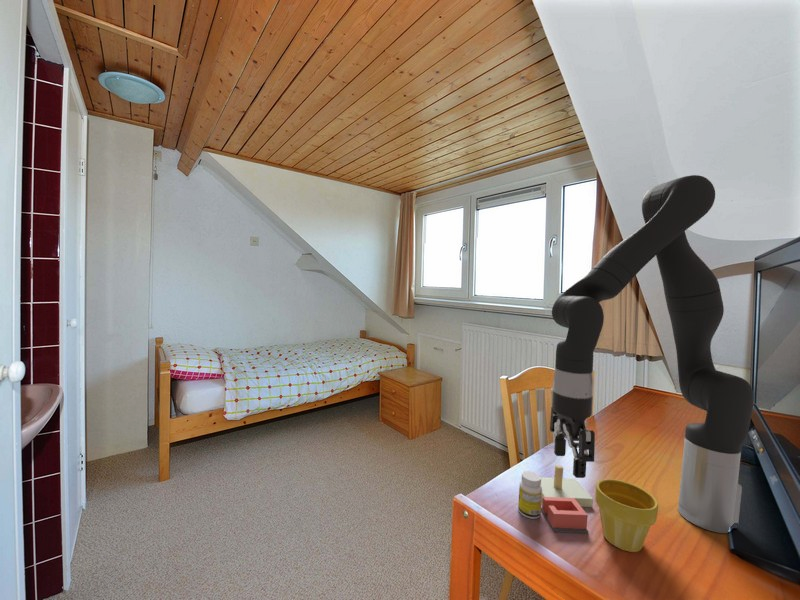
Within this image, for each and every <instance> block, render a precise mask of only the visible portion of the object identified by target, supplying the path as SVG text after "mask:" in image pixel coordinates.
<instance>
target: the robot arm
mask: <svg viewBox="0 0 800 600" xmlns="http://www.w3.org/2000/svg"><path fill="white" fill-rule="evenodd" d="M715 199H716V189H715V186H714V184H713V183H712V181H711V180H709V179H708V178H707V177H705V176H702V175H697V174H691V175H685V176H681V177H678V178H675V179H673V180H669V181H667V182H663V183H661V184H657V185H655V186H652V187H651V188H649V189H648V190H647V191H646V192H645V194H644V195H643V198H642V201H641V212H642V213H641V215H642V216H643V220H644V224H643V225H642V226H641V227H640V228H639V229H637V230H636V231H635V232H634V233H632V234H631V235H629V236H627V237H626V238H625V239H623V240H622V241H620V242H619V243H618V244H616V245H615V246H614V247H612V248H611V249H610V250H609V251H608V252H607V253H606V254H604V255H603V257H601V258H600V260H599V261H598V262H597V263H596V264H595V265H594V267H592V268H591V269H590V270H589V272H588V273H587V274H586V275H585V276H584V277H583V278H581V279H579V280H578V281H577V282H575V283H574V284H573V285H571V286H570V287H569V288H567V289H566V290H565V291H564V292H562V293H561V294H560V295H559V296H558V297H557V298H556V300H555V301H554V303H553V305H552V307H551V318H552V319H553V320H554V322H555V323H556V324H557V325H558V326H560V327H563V328H567V333H566V337H565V339H564V340H561V341H559V342H558V343H557V345H556V349H555V364H554V365H555V367H554V373H553V381H552V382H553V383H552V385H553V386H552V402H551V403H552V404H551V407H550V422H549V431H550V432H552V435H553V438H554V446H553V449H554V451H553V453H554V455H555V456H556V457H564V456H566V451H567V450H566V448H567V446H566V445H567V443H568V447H569V448H571V451H572V453H573V463H572V464H573V467H572V475H573V477H575V479H576V478H577V479H584V478H586V474H587V462H588V463H589V462H590V463H594V462H595V450H596V449H595V447H596V446H595V445H596V444H595V441H596V434H595V431H594V430H589V429H587V428H586V423H585V422H586V420H587V419H589V418H590V417H592V415H593V398H594V375H593V374H594V373H593V372H594V371H593V370H594V353H595V352H594V351H595V350H596V347H597V344H598V341H599V339H600V336H601V333H602V329H603V326H604V320H605V317H604V315H605V314H604V309H603V307H602V305H601V302H602V301H608V300H611V299H614V298H615V297H617V296H618V295H619V294H620V293H621V292H622V291H624V289H625V288H626V286H627V285H628V284H629V283H630V282H631V281H632V280H633V279H634V278H635V276H637V275H638V273H640V271H641V270H643V268H644V267H646V265H647V264H648V263H649V262H650V261H652V259H654V258H655V257H656V261H657V265H658V269H659V274H660V276H661V280H662V286H663V291H664V297H665V298H664V299H665V303H666V307H667V311H668V315H669V320H670V324H671V327H672V333H673V340H674V345H675V351H676V352H675V353H676V361H677V373H678V384H679V388H680V393H681V395H682V396H683V398H684V400H685V401H687V402H688V404H690V405H692V406H694V407H696V408H698V409H700V410H703V411H706V414H705V415H706V416H705V419H704V423H703V422H694V423H693V422H692V423H688V424H687V425H686V426H685V429H684V432H685V433H684V441H683V442H684V443H683V450H682V451H683V453H682V462H681V463H682V464H681V470H680V471H681V473H680V484H679V494H678V505H677V510H678V513H679V515H681V516H682V517H683V518H684V519H685V520H686V521H688V522H690V523H691V524H694V525H695V526H697V527H700V528H701V529H705V530H707V531H710V532H713V533H718V534H729V533H728V530H729V527H731V526H732V525H733V524H734V523H738V524H739V520H740V518H739V517H740V509H741V499H742V491H743V487H742V485H741V484H739V473H740V468H741V466H740V465H741V457H742V448H743V445H744V443H745V441H746V440H747V438H748V434H749V431H750V425H751V419H752V414H753V411H754V410H753V409H754V402H755V401H754V400H755V397H754V391H753V387H752V386H751V384H750V382H748V381H747V380H746V379H745V378H743V377H740V376H737V375H734V374H731V373H727V372H723V371H719V370H717V369H716V368H715V365H714V362H713V357H712V349H711V345H712V340H713V337H715V334H716V332H717V330H718V328H719V326H720V324H721V322H722V319H723V316H724V314H725V313H724V311H725V310H724V308H725V307H724V301H723V298H722V297H723V296H722V292H721V286H720V283H719V281H718V278H717V277H716V275H715V274H714V272H713V271H712V270H711V268H710V267H709V266H708V265H707V264H706V263H705V261H704V260H702V259H701V257H700V256H699V255H698V254H697V253H696V252H695V251H694V249H693V248H692V247H691V245H690V243H689V240H688V239H687V235H686V232H685V231H687V230H688V229H689V228H691V227H692V226H693V225H695V224H696V223H697V222H698V221H700V220H701V219H702V218H703V217H705V215H707V214H708V212H710V211H711V209H712V207H713V205H714V203H715ZM566 439H567V440H566Z"/></svg>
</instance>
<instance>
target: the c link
mask: <svg viewBox="0 0 800 600" xmlns="http://www.w3.org/2000/svg"><path fill="white" fill-rule="evenodd" d="M541 508H542V511H543V512H544V513H548V521H549V522H550V524H551V525H552V527H553V528H574V529H587V527H588V517H589V516H588V513H586V511H585V510H584V508H583V507H581V506H580V505H579V503H578V502H577V501H576V500H575V498H561V497H543V501H542V502H541ZM542 511H541V512H542ZM548 521H547V522H548ZM549 522H548V523H549ZM550 524H549V525H550ZM552 527H551V528H552ZM587 530H588V529H587Z"/></svg>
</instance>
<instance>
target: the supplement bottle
mask: <svg viewBox="0 0 800 600" xmlns="http://www.w3.org/2000/svg"><path fill="white" fill-rule="evenodd" d="M520 479H521V480H520V482H519V486H518V487H519V488H518V489H519V490H518V493H519V494H518V507H517V509H518V512H519V513H520V515H522V516H523V517H525V518H528V519H532V520H536V519H538V518H540V517H541V513H542V511H541V508H542V486H541V476H540V474H539V473H536V472H535V471H532V470H525V471H523V472H522V473H521V478H520Z"/></svg>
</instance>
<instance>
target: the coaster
mask: <svg viewBox="0 0 800 600" xmlns="http://www.w3.org/2000/svg"><path fill="white" fill-rule="evenodd" d="M541 513H542V514H543V516H544V518H545V519H546V521H547V522H548V524H549V526H550V527H551V529H552V530H553V532H554V533H565V534H566V533H568V534H569V533H570V534H589V530H588V529H574V528H553V527H552V525H551V524H550V522H549V521H548V513H544V512H543V511H542V507H541Z"/></svg>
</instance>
